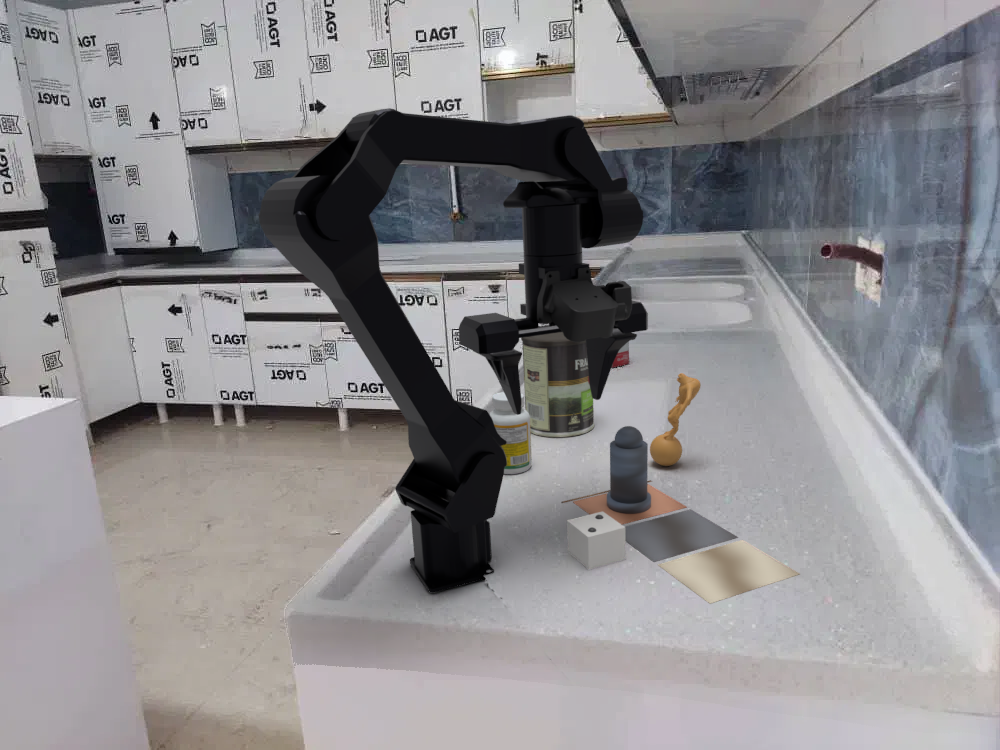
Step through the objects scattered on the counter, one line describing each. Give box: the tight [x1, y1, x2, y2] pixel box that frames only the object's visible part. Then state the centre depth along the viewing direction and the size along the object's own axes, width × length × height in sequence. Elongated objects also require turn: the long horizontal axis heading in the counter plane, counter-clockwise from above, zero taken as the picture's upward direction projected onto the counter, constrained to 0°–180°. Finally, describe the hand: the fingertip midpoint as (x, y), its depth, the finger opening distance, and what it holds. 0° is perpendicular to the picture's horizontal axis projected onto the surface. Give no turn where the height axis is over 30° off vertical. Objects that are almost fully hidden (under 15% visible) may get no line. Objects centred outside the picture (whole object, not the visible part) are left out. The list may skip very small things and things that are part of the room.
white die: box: [566, 511, 627, 571], centre depth 71 cm, size 4×4×4 cm
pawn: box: [607, 425, 651, 514], centre depth 81 cm, size 5×5×9 cm
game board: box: [561, 480, 801, 605], centre depth 75 cm, size 12×25×1 cm, turn 24°
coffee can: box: [520, 332, 595, 438], centre depth 109 cm, size 10×10×14 cm
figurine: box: [649, 372, 701, 467], centre depth 92 cm, size 8×6×12 cm
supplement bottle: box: [489, 391, 533, 475], centre depth 95 cm, size 5×5×10 cm
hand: (557, 406), depth 77 cm, fingers open, 9 cm apart
